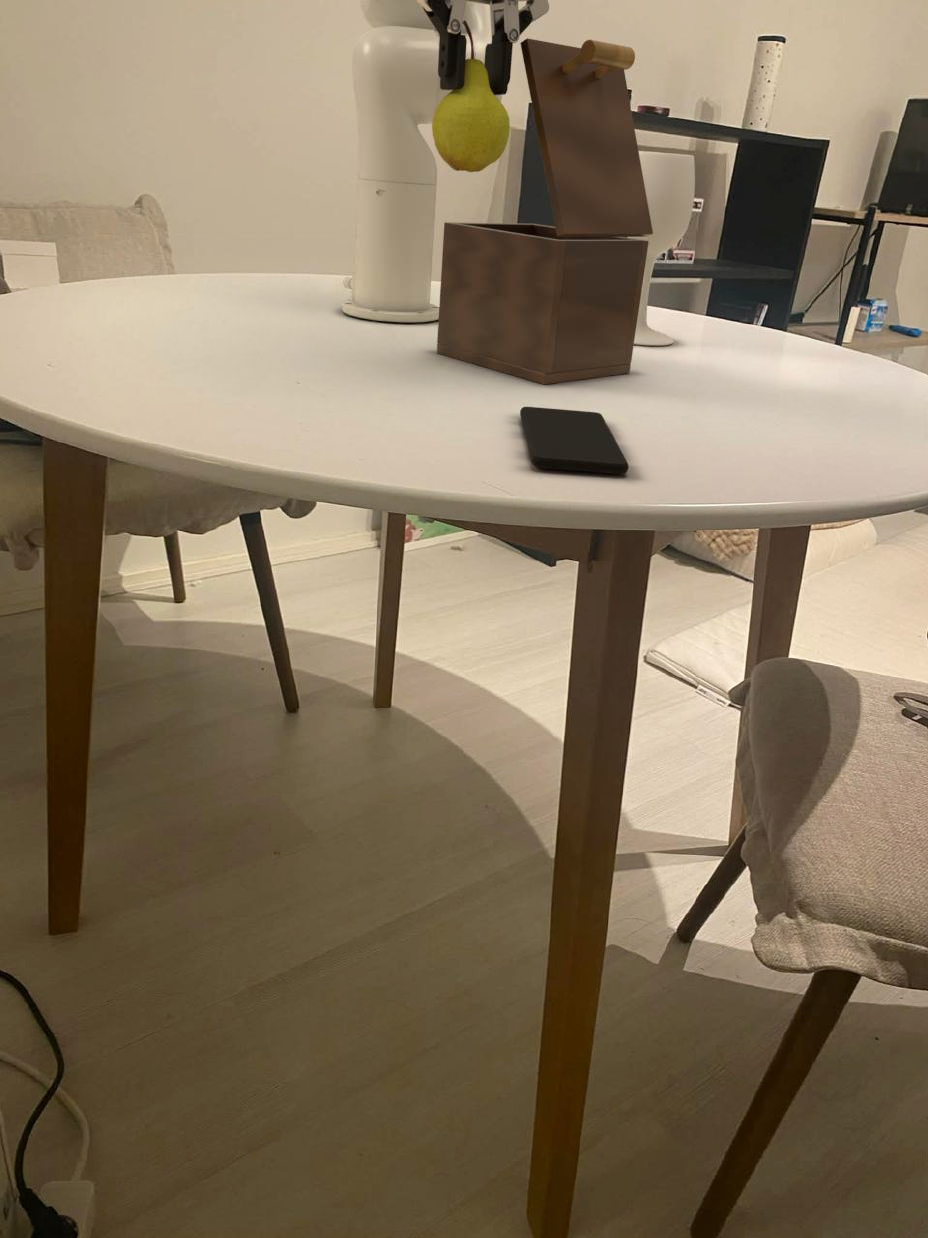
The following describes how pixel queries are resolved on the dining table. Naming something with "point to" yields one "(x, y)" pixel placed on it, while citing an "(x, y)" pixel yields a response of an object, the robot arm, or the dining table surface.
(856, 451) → the dining table surface
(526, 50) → the lid
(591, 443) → the smartphone
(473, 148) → the fruit
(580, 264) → the chest
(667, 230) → the wineglass
